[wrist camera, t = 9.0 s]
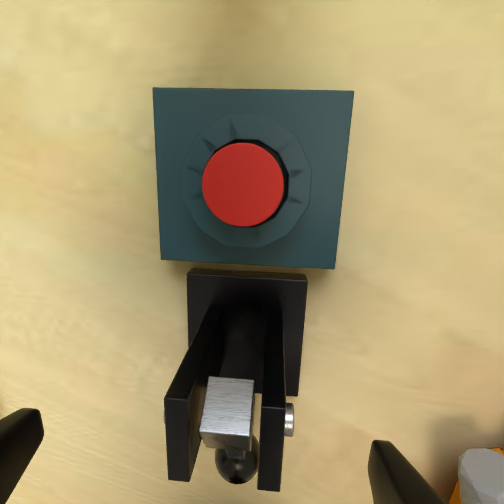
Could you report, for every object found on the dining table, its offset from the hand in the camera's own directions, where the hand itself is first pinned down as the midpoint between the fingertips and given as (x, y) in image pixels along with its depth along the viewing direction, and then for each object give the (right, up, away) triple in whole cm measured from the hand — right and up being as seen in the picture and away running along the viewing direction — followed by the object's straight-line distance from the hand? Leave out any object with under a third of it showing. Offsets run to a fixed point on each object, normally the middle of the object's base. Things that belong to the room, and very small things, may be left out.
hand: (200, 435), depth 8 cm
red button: (+1, +9, +8) cm, 12 cm away
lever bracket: (+1, -1, +14) cm, 14 cm away
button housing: (+1, +9, +11) cm, 15 cm away
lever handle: (+1, -5, +11) cm, 12 cm away
